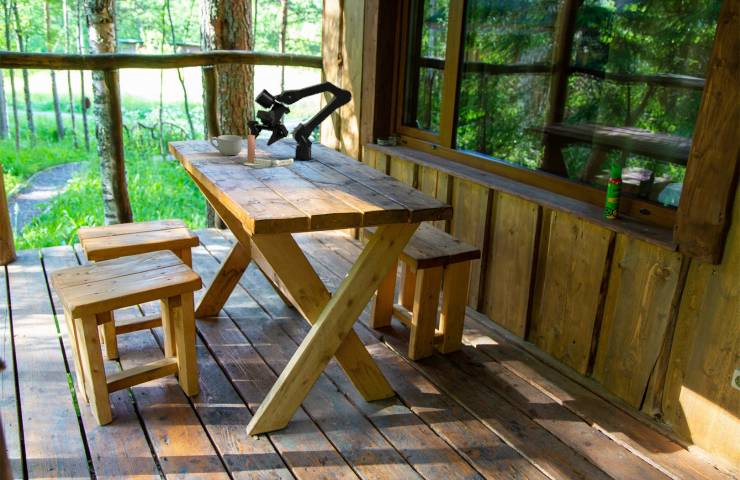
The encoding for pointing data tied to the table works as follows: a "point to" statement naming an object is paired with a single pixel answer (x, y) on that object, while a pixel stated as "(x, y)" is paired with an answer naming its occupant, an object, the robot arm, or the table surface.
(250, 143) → the brown cylinder with stick
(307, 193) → the table surface
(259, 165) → the board
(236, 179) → the table surface
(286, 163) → the cream dumbbell
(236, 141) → the teacup
